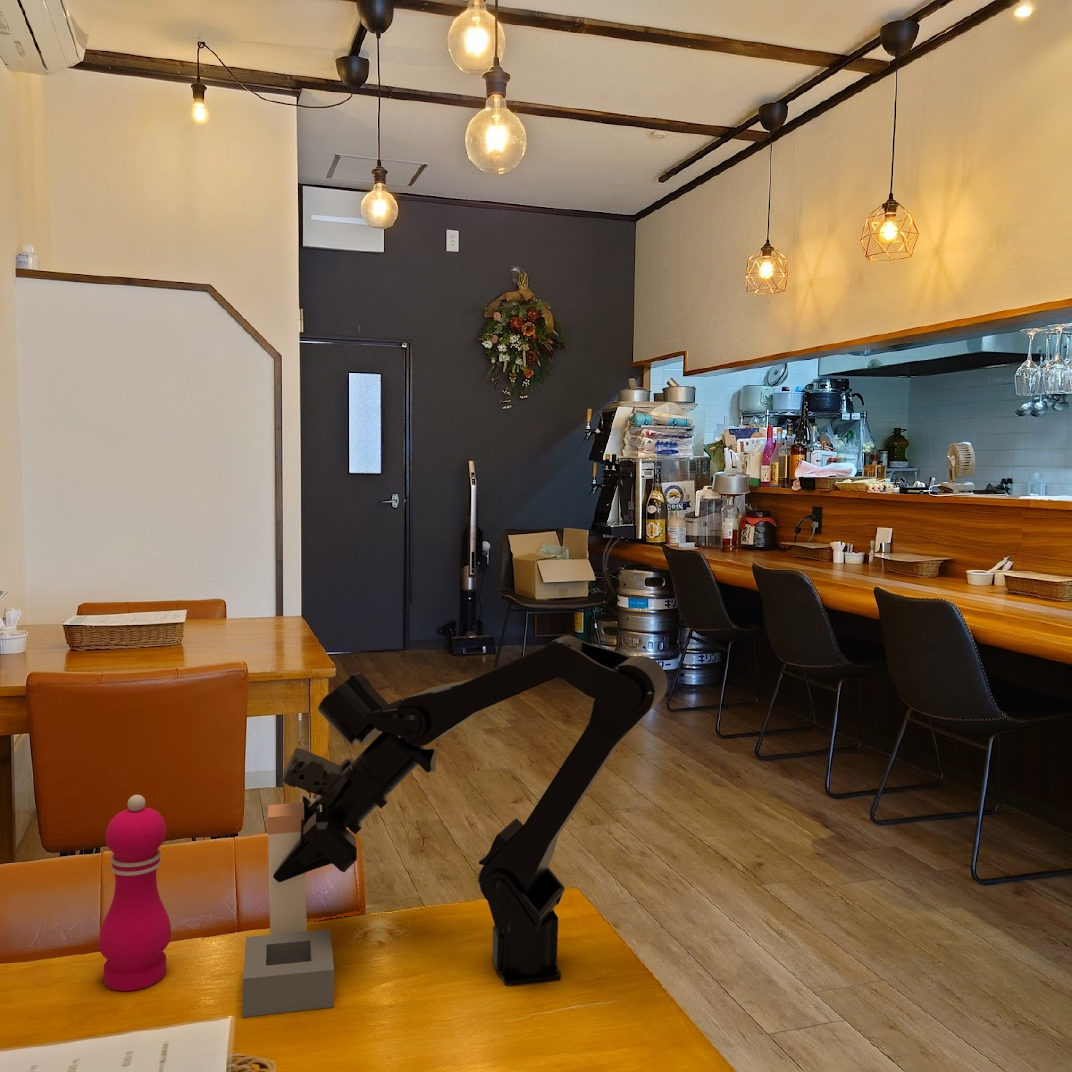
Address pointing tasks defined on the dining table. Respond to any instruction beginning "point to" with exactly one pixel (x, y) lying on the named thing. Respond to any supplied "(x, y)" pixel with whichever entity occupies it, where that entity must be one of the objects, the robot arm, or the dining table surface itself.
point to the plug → (281, 840)
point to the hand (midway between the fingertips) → (276, 871)
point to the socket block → (288, 973)
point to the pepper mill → (135, 901)
